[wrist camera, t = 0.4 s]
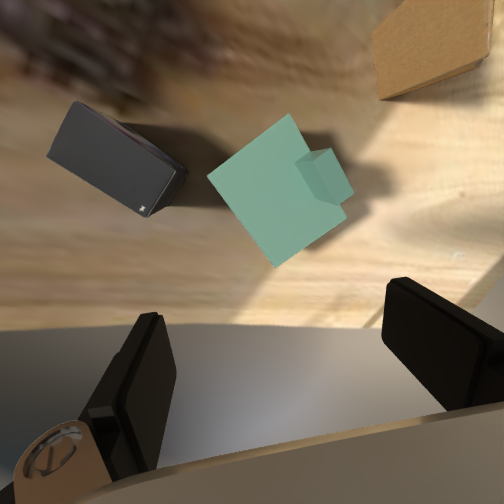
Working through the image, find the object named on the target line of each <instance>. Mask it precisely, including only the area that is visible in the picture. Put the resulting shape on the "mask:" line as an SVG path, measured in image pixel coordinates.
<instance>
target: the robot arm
mask: <svg viewBox="0 0 504 504" xmlns="http://www.w3.org/2000/svg"><path fill="white" fill-rule="evenodd" d="M381 336H382V340H383V342H384V344H385V345H386V346H387V347H388V348H389V349H390V350H391V351H392V352H393V354H395V356H396V357H397V358H398V359H399V360H400V361H401V362H402V363H403V364H404V365H405V366H406V367H407V369H408V370H409V371H410V372H411V373H412V374H413V375H414V376H415V377H416V378H417V379H418V380H419V382H421V384H422V385H423V386H424V387H425V388H426V389H427V390H428V391H429V392H430V393H431V394H432V395H433V396H434V398H435V399H436V400H437V401H438V402H439V403H440V404H441V405H442V406H443V407H444V408H445V409H446V410H447V412H443V413H438V414H431V415H426V416H421V417H416V418H410V419H404V420H399V421H394V422H389V423H384V424H378V425H373V426H367V427H362V428H357V429H352V430H347V431H341V432H336V433H331V434H326V435H321V436H315V437H310V438H305V439H300V440H295V441H290V442H285V443H279V444H274V445H269V446H264V447H259V448H255V449H249V450H244V451H239V452H234V453H229V454H224V455H219V456H214V457H210V458H205V459H200V460H196V461H191V462H187V463H182V464H177V465H173V466H168V467H163V468H159V469H156V467H157V463H158V458H159V454H160V449H161V445H162V440H163V435H164V431H165V426H166V421H167V417H168V412H169V408H170V403H171V398H172V394H173V390H174V385H175V380H176V366H175V362H174V358H173V353H172V349H171V346H170V341H169V338H168V334H167V329H166V325H165V321H164V318H163V315H158V313H157V312H151V313H144V314H140V316H139V317H138V319H137V321H136V323H135V325H134V326H133V328H132V330H131V332H130V334H129V335H128V337H127V339H126V341H125V342H124V344H123V346H122V348H121V350H120V352H118V353H117V354H116V355H115V356H114V357H113V360H112V361H111V363H110V364H109V366H108V368H107V370H106V371H105V373H104V375H103V377H102V378H101V380H100V382H99V384H98V385H97V387H96V389H95V391H94V392H93V394H92V396H91V398H90V399H89V401H88V403H87V405H86V406H85V408H84V410H83V411H82V413H81V415H80V417H79V418H78V420H77V421H68V422H66V423H63V424H60V425H58V426H56V427H54V428H53V429H50V430H49V431H48V432H46V433H45V434H43V435H42V436H41V437H39V438H38V439H37V440H36V441H35V442H34V443H33V444H32V445H31V446H30V447H29V448H28V449H27V450H26V451H25V453H24V454H23V455H22V457H21V458H20V459H19V461H18V464H17V466H16V468H15V470H14V477H13V482H11V483H10V484H9V485H7V486H6V487H5V488H3V489H2V490H1V491H0V504H504V333H503V332H501V331H499V330H498V329H496V328H494V327H493V326H491V325H489V324H487V323H486V322H484V321H482V320H481V319H479V318H477V317H475V316H474V315H472V314H470V313H469V312H467V311H465V310H463V309H462V308H460V307H458V306H457V305H455V304H453V303H451V302H450V301H448V300H446V299H445V298H443V297H441V296H439V295H438V294H436V293H434V292H433V291H431V290H429V289H427V288H426V287H424V286H422V285H421V284H419V283H417V282H415V281H414V280H412V279H410V278H408V277H400V278H393V279H391V280H390V282H389V283H388V284H387V287H386V296H385V305H384V315H383V324H382V334H381Z"/></svg>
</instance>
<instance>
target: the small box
mask: <svg viewBox="0 0 504 504" xmlns="http://www.w3.org/2000/svg"><path fill="white" fill-rule="evenodd" d="M46 157H47V158H49V159H50V160H52V161H53V162H55V163H57V164H58V165H60V166H62V167H63V168H65V169H66V170H68V171H69V172H71V173H73V174H74V175H76V176H78V177H79V178H81V179H82V180H84V181H86V182H87V183H89V184H90V185H92V186H94V187H95V188H97V189H99V190H100V191H102V192H103V193H105V194H107V195H108V196H110V197H112V198H113V199H115V200H116V201H118V202H120V203H121V204H123V205H124V206H126V207H128V208H129V209H131V210H132V211H134V212H136V213H137V214H139V215H141V216H142V217H144V218H148V217H149V216H151V215H152V214H154V213H156V212H157V211H159V210H161V209H163V208H164V207H167V206H169V204H170V203H171V200H172V199H173V197H174V196H175V194H176V192H177V191H178V189H179V188H180V186H181V184H182V183H183V182H184V181H185V179H186V176H187V175H188V173H189V171H188V170H187V169H185V168H184V167H183V166H181V165H180V164H179V163H178V162H176V161H175V160H174V159H172V158H171V157H169V156H168V155H167V154H165V153H164V152H163V151H161V150H160V149H159V148H157V147H156V146H155V145H153V144H152V143H150V142H149V141H148V140H146V139H145V138H143V137H142V136H140V135H139V134H138V133H136V132H135V131H133V130H132V129H131V128H129V127H128V126H126V125H125V124H123V123H121V122H119V121H118V120H115V119H113V118H111V117H109V116H107V115H105V114H103V113H101V112H99V111H97V110H95V109H93V108H91V107H89V106H87V105H85V104H83V103H80V102H78V101H76V100H75V101H74V102H73V103H72V105H71V107H70V109H69V110H68V112H67V114H66V116H65V119H64V120H63V123H62V124H61V126H60V128H59V131H58V133H57V135H56V137H55V138H54V141H53V143H52V145H51V147H50V149H49V151H48V153H47V155H46Z"/></svg>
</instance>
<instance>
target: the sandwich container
mask: <svg viewBox="0 0 504 504" xmlns="http://www.w3.org/2000/svg"><path fill="white" fill-rule="evenodd" d="M494 1H495V0H405V1H404V2H403V3H402V4H400V5H399V6H398V7H397V8H396V9H395V10H394V11H393V12H392V13H391V14H390V15H389V16H388V17H387V18H386V19H385V20H384V21H383V22H382V23H381V24H380V25H379V26H377V27H376V28H375V29H374V30H373V31H372V32H371V34H372V43H373V52H374V60H375V69H376V78H377V86H378V95H379V100H384V99H388V98H391V97H394V96H398V95H401V94H404V93H407V92H411V91H414V90H417V89H420V88H423V87H426V86H428V85H431V84H434V83H437V82H439V81H442V80H445V79H447V78H450V77H453V76H455V75H458V74H461V73H464V72H466V71H469V70H472V69H474V68H477V67H479V66H480V64H481V62H482V61H483V59H484V58H486V57H488V55H489V53H490V48H491V36H492V25H493V13H494Z"/></svg>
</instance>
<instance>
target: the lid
mask: <svg viewBox="0 0 504 504" xmlns="http://www.w3.org/2000/svg"><path fill="white" fill-rule="evenodd" d="M207 177H208V179H209V180H210V181H211V183H212V184H213V185H214V187H215V188H216V189H217V191H218V192H219V194H220V195H221V196H222V198H223V199H224V200H225V202H226V203H227V204H228V206H229V207H230V208H231V210H232V211H233V212H234V214H235V215H236V216H237V218H238V219H239V220H240V222H241V223H242V225H243V226H244V227H245V229H246V230H247V231H248V233H249V234H250V235H251V237H252V238H253V239H254V241H255V242H256V243H257V245H258V246H259V247H260V249H261V250H262V251H263V253H264V254H265V256H266V257H267V258H268V260H269V261H270V262H271V264H272V265H273V266H274V268H276V267H278V266H279V265H281V264H282V263H283V262H285V261H286V260H288V259H289V258H291V257H292V256H294V255H295V254H296V253H298V252H299V251H301V250H302V249H304V248H305V247H307V246H308V245H309V244H311V243H312V242H314V241H315V240H317V239H318V238H320V237H321V236H322V235H324V234H325V233H327V232H328V231H330V230H331V229H333V228H334V227H335V226H337V225H338V224H340V223H341V222H343V221H344V220H346V219H347V216H346V215H345V213H344V211H343V209H342V207H341V206H340V204H341V203H342V202H344V201H345V200H346V199H348V198H349V197H351V196H352V195H353V194H355V193H354V191H353V189H352V187H351V185H350V183H349V181H348V179H347V177H346V176H345V174H344V172H343V170H342V168H341V166H340V164H339V162H338V160H337V158H336V156H335V154H334V152H333V151H332V149H331V148H327V149H322V150H316V151H310V150H309V148H308V146H307V144H306V142H305V141H304V139H303V137H302V135H301V133H300V132H299V130H298V128H297V126H296V124H295V123H294V121H293V119H292V117H291V115H290V114H289V113H288V114H287V115H286V116H284V117H283V118H282V119H280V120H279V121H278V122H277V123H275V124H274V125H273V126H271V127H270V128H269V129H267V130H266V131H265V132H263V133H262V134H261V135H260V136H258V137H257V138H256V139H254V140H253V141H252V142H250V143H249V144H248V145H246V146H245V147H244V148H243V149H241V150H240V151H239V152H237V153H236V154H235V155H233V156H232V157H231V158H229V159H228V160H227V161H225V162H224V163H223V164H222V165H220V166H219V167H218V168H216V169H215V170H214V171H212V172H211V173H210V174H208V175H207Z"/></svg>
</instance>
